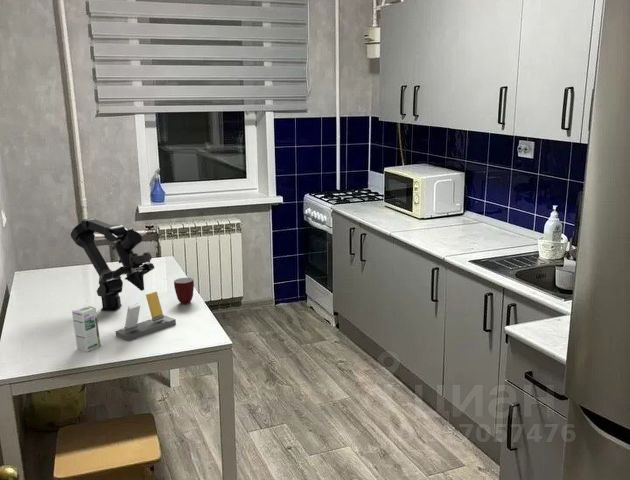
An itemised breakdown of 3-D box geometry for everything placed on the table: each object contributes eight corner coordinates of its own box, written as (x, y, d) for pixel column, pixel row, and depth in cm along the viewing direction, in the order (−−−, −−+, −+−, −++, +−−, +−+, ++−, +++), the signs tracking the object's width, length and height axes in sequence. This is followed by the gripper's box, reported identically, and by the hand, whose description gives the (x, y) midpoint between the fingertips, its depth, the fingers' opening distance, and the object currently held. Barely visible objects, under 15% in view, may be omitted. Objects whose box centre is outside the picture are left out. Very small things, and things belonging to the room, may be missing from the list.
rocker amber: (152, 321, 230) (145, 294, 230) (162, 318, 234) (154, 291, 233) (154, 321, 229) (147, 294, 229) (164, 318, 233) (157, 291, 232)
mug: (196, 306, 252) (194, 283, 250) (176, 309, 250) (174, 285, 248) (194, 298, 262) (192, 276, 260) (175, 301, 260) (173, 278, 258)
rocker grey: (124, 329, 222) (127, 306, 217) (134, 326, 225) (138, 303, 220) (126, 332, 221) (130, 308, 216) (136, 328, 224) (140, 305, 219)
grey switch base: (128, 341, 218) (127, 335, 217) (116, 336, 223) (115, 330, 222) (175, 324, 233) (175, 318, 233) (163, 319, 238) (162, 314, 238)
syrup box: (87, 352, 210) (82, 312, 206) (76, 348, 213) (71, 309, 209) (100, 346, 214) (96, 307, 211) (90, 343, 217) (85, 304, 214)
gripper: (124, 246, 227) (141, 283, 225) (155, 243, 244) (172, 278, 242) (104, 260, 231) (121, 297, 229) (136, 256, 248) (152, 290, 246)
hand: (142, 290), depth 236 cm, fingers closed
